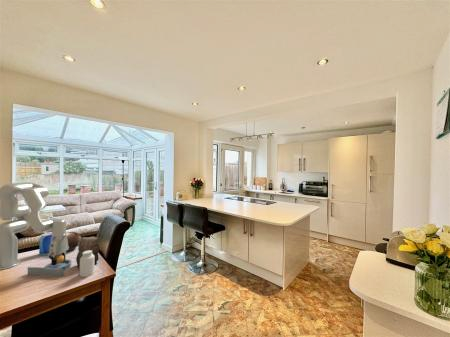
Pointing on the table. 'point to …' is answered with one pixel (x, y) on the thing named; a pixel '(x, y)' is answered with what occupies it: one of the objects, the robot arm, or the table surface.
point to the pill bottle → (87, 264)
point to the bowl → (60, 265)
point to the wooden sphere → (73, 240)
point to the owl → (88, 248)
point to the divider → (45, 271)
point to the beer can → (45, 244)
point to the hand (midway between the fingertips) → (58, 262)
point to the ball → (59, 258)
